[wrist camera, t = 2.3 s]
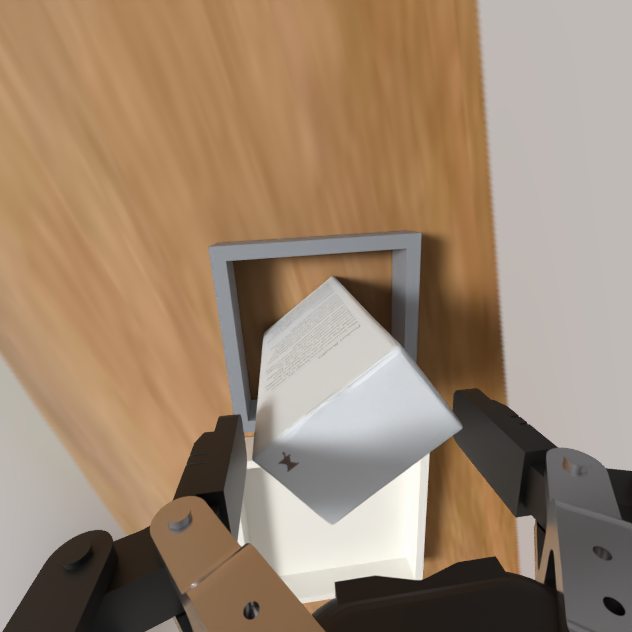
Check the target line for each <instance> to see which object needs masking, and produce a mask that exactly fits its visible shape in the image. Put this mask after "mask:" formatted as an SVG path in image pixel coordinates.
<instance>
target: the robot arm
mask: <svg viewBox="0 0 632 632" xmlns="http://www.w3.org/2000/svg"><path fill="white" fill-rule="evenodd" d="M453 412H454V414H455V415H456V416H457V417H458V419H459V420H460V422H461V423H462V425H463V428H462V429H461V430H460V431H459V432H457V433H456V434H454V435H453V436H454V439H455V441H456V443H457V444H458V445H459V447H460V448H461V449H462V450H463V452H464V453H465V454H466V455H467V457H468V458H469V459H470V460H471V462H472V463H473V464H474V466H475V467H476V468H477V469H478V471H479V472H480V473H481V474H482V476H483V477H484V478H485V479H486V481H487V482H488V483H489V484H490V486H491V487H492V488H493V489H494V491H495V492H496V493H497V494H498V496H499V497H500V498H501V499H502V501H503V502H504V503H505V504H506V506H507V507H508V508H509V509H510V511H511V512H512V513H513V514H514V516H515V517H522V516H528V515H532V516H533V517H534V518H535V519H536V520H535V526H534V539H535V540H534V543H535V544H534V545H535V580H533V579H531V578H528V577H525V576H522V575H519V574H514V573H510V572H505V570H504V569H503V567H502V566H501V564H500V563H499V561H498V559H497V558H496V556H495V557H489V558H482V559H476V560H470V561H463V562H457V563H455V564H453V565H451V566H449V567H447V568H445V569H443V570H441V571H439V572H438V573H436V574H434V575H432V576H430V577H428V578H426V579H423V580H411V579H402V578H393V577H385V576H376V575H375V576H369V577H362V578H356V579H350V580H344V581H337V582H335V599H333V600H331V601H329V602H327V603H326V604H324V605H323V606H321V607H320V608H318V609H317V610H316V611H315V612H314V613H313V614H312V615H311V614H310V613H309V611H308V610H307V609H306V608H305V607H304V605H303V604H302V603H301V602H300V601H299V599H298V598H297V597H296V596H295V595H294V593H293V592H292V591H291V590H290V589H289V588H288V586H287V585H286V584H285V583H284V582H283V580H282V579H281V578H280V577H279V576H278V574H277V573H276V572H275V571H274V570H273V568H272V567H271V566H270V565H269V564H268V562H267V561H266V560H265V559H264V558H263V557H262V555H261V554H260V553H259V552H258V551H257V549H256V548H255V547H254V546H253V545H252V544H250V543H246V544H245V545H243V546H240V545H239V543H238V542H237V541H238V533H239V525H240V517H241V510H242V502H243V494H244V486H245V478H246V471H247V452H246V444H245V437H244V430H243V423H242V417H241V415H240V414H236V415H227V416H220V417H219V418H218V421H217V425H216V428H215V431H214V432H205V433H203V434H202V436H201V437H200V438H199V439H198V440H197V441H196V442H195V443H194V446H193V448H192V451H191V454H190V456H189V459H188V462H187V466H186V467H185V469H184V472H183V475H182V477H181V480H180V483H179V485H178V488H177V491H176V493H175V496H174V499H173V501H172V502H170V503H168V504H167V505H165V506H164V507H163V508H161V509H160V510H159V511H158V513H157V514H156V515H155V516H154V518H153V520H152V522H151V525H150V526H149V527H147V528H145V529H143V530H141V531H139V532H136V533H134V534H131V535H129V536H126V537H124V538H121V539H119V540H116V541H114V542H113V539H112V537H111V535H110V534H109V533H108V532H106V531H103V530H94V531H88V532H85V533H82V534H80V535H78V536H76V537H74V538H72V539H70V540H69V541H67V542H66V543H64V544H63V545H62V546H60V547H59V548H58V549H57V550H56V551H55V552H54V553H53V554H52V555H51V556H50V557H49V558H48V560H47V561H46V563H45V564H44V566H43V567H42V569H41V570H40V572H39V574H38V575H37V577H36V579H35V580H34V582H33V583H32V585H31V586H30V588H29V590H28V591H27V593H26V595H25V596H24V598H23V599H22V601H21V603H20V605H19V606H18V607H17V609H16V611H15V612H14V614H13V615H12V617H11V619H10V620H9V622H8V624H7V625H6V627H5V628H4V630H3V632H145V631H147V630H149V629H151V628H153V627H155V626H157V625H159V624H161V623H163V622H164V621H167V620H168V619H170V618H172V617H173V619H174V621H175V623H176V625H177V627H178V630H179V632H632V471H626V470H617V469H607V468H605V467H604V466H603V465H602V464H601V463H600V462H599V461H598V460H596V459H595V458H593V457H591V456H589V455H587V454H585V453H583V452H580V451H577V450H574V449H569V448H558V447H556V446H555V445H554V444H553V443H552V442H550V441H549V440H548V439H547V438H545V437H544V436H543V435H542V434H541V433H539V432H538V431H537V430H536V429H534V428H533V427H532V426H531V425H528V424H527V422H526V421H524V420H523V419H522V418H521V417H519V416H518V415H517V414H516V413H515V412H514V411H512V410H511V409H510V408H509V407H507V406H505V405H503V404H501V403H499V402H497V401H495V400H491V399H489V398H488V397H487V396H486V395H485V394H484V393H482V392H481V391H480V390H479V389H477V388H474V389H465V390H457V391H455V393H454V398H453Z"/></svg>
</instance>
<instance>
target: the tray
mask: <svg viewBox="0 0 632 632" xmlns="http://www.w3.org/2000/svg"><path fill="white" fill-rule="evenodd" d="M253 443H254V436H253V437H245V444H246V452H247V471H246V478H245V486H244V494H243V502H242V510H241V517H240V525H239V533H238V541H237V542H238V543H239V545H240V546H243V545H245V544H246V543H250V544H252V545H253V546H254V547H255V548H256V549H257V551H258V552H259V553H260V554H261V555H262V557H263V558H264V559H265V560H266V561H267V562H268V564H269V565H270V566H271V567H272V568H273V570H274V571H275V572H276V573H277V574H278V576H279V577H280V578H281V579H282V580H283V582H284V583H285V584H286V585H287V586H288V588H289V589H290V590H291V591H292V592H293V593H294V595H295V596H296V597H297V598H298V599H299V601H300V602H301V603H307V602H314V601H320V600H326V599H333V598H335V582H337V581H344V580H350V579H356V578H362V577H369V576H375V575H376V576H385V577H393V578H402V579H411V580H422V579H423V561H424V543H425V526H426V508H427V491H428V473H429V456H430V453H429V454H427V455H426V456H425V457H423V458H422V459H421V460H419V461H418V462H417V463H415V464H414V465H413V466H411V467H410V468H409V469H407V470H406V471H405V472H403V473H402V474H401V475H399V476H398V477H397V478H395V479H394V480H392V481H391V482H390V483H388V484H387V485H386V486H384V487H383V488H382V489H380V490H379V491H378V492H376V493H375V494H373V495H372V496H371V497H370V498H368V499H367V500H366V501H364V502H363V503H362V504H360V505H359V506H358V507H356V508H355V509H354V510H352V511H351V512H350V513H349V514H347V515H346V516H345V517H343V518H342V519H341V520H340V521H338V522H337V523H336V524H334V525H331V524H329V523H328V522H326V521H325V520H324V519H323V518H321V517H320V516H319V515H318V514H316V513H315V512H314V511H313V510H312V509H310V508H309V507H308V506H307V505H306V504H305V503H303V502H302V501H301V500H300V499H299V498H298V497H296V496H295V495H294V494H293V493H292V492H291V491H289V490H288V489H287V488H286V487H285V486H284V485H282V484H281V483H280V482H279V481H278V480H276V479H275V478H274V477H273V476H271V475H270V474H269V473H268V472H266V471H265V470H264V469H263V468H261V467H260V466H259V465H258V464H256V463H255V462H254V461H253V459H252V455H253Z"/></svg>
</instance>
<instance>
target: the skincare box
mask: <svg viewBox="0 0 632 632" xmlns="http://www.w3.org/2000/svg"><path fill="white" fill-rule="evenodd" d="M462 428H463V425H462V423H461V422H460V420H459V419H458V417H457V416H456V415H455V414H454V412H453V411H452V410H451V408H450V407H449V406H448V404H447V403H446V402H445V400H444V399H443V398H442V396H441V395H440V394H439V393H438V391H437V390H436V389H435V387H434V386H433V385H432V383H431V382H430V381H429V380H428V378H427V377H426V376H425V374H424V373H423V372H422V370H421V369H420V368H419V367H418V365H417V364H416V363H415V362H414V360H413V359H412V358H411V357H410V355H409V354H408V353H407V352H406V350H405V349H404V348H403V347H402V346H401V345H400V344H399V343H398V342H397V341H396V340H395V339H394V338H393V337H392V336H391V335H390V334H389V333H388V332H387V331H386V330H385V329H384V328H383V327H382V326H381V325H380V324H379V323H378V322H377V321H376V320H375V319H374V318H373V317H372V316H371V315H370V314H369V313H368V311H367V310H366V309H365V308H364V307H363V306H362V305H361V304H360V303H359V302H358V301H357V300H356V299H355V298H354V297H353V296H352V295H351V294H350V293H349V292H348V290H347V289H346V288H345V287H344V286H343V285H342V284H341V283H340V282H339V281H338V280H337V279H336V278H335V277H333V276H331V277H330V278H329V279H328V280H327V281H325V282H324V283H323V284H322V285H321V286H319V287H318V288H317V289H316V290H315V291H313V292H312V293H311V294H310V295H308V296H307V297H306V298H305V299H304V300H302V301H301V302H300V303H299V304H298V305H296V306H295V307H294V308H293V309H292V310H290V311H289V312H288V313H287V314H286V315H284V316H283V317H282V318H281V319H280V320H279V321H277V322H276V323H275V324H274V325H273V326H271V327H270V328H269V329H268V330H266V331H265V332H264V337H263V346H262V358H261V369H260V379H259V390H258V402H257V412H256V422H255V434H254V443H253V455H252V459H253V461H254V462H255V463H256V464H258V465H259V466H260V467H261V468H263V469H264V470H265V471H266V472H268V473H269V474H270V475H271V476H273V477H274V478H275V479H276V480H278V481H279V482H280V483H281V484H282V485H284V486H285V487H286V488H287V489H288V490H289V491H291V492H292V493H293V494H294V495H295V496H296V497H298V498H299V499H300V500H301V501H302V502H303V503H305V504H306V505H307V506H308V507H309V508H310V509H312V510H313V511H314V512H315V513H316V514H318V515H319V516H320V517H321V518H323V519H324V520H325V521H326V522H328V523H329V524H331V525H334V524H336V523H337V522H338V521H340V520H341V519H342V518H343V517H345V516H346V515H347V514H349V513H350V512H351V511H352V510H354V509H355V508H356V507H358V506H359V505H360V504H362V503H363V502H364V501H366V500H367V499H368V498H370V497H371V496H372V495H373V494H375V493H376V492H378V491H379V490H380V489H382V488H383V487H384V486H386V485H387V484H388V483H390V482H391V481H392V480H394V479H395V478H397V477H398V476H399V475H401V474H402V473H403V472H405V471H406V470H407V469H409V468H410V467H411V466H413V465H414V464H415V463H417V462H418V461H419V460H421V459H422V458H423V457H425V456H426V455H427V454H429V453H430V452H431V451H433V450H434V449H435V448H437V447H438V446H440V445H441V444H442V443H444V442H445V441H446V440H447V439H449V438H450V437H451V436H453V435H454V434H456V433H457V432H459V431H460V430H461V429H462Z"/></svg>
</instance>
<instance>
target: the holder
mask: <svg viewBox="0 0 632 632" xmlns="http://www.w3.org/2000/svg"><path fill="white" fill-rule="evenodd" d="M208 248H209V255H210V261H211V268H212V274H213V281H214V287H215V294H216V301H217V307H218V314H219V320H220V327H221V334H222V340H223V347H224V353H225V360H226V367H227V373H228V380H229V386H230V393H231V400H232V406H233V413H234V415H236V414H240V415H241V417H242V423H243V430H244V433H246V432H254V431H255V422H256V412H257V402H258V399H255V400H251V395H250V387H249V380H248V372H247V365H246V357H245V349H244V342H243V334H242V326H241V319H240V311H239V304H238V296H237V288H236V281H235V273H234V265H233V261H235V260H249V259H263V258H278V257H292V256H306V255H320V254H335V253H349V252H363V251H377V250H392V249H393V253H392V328H391V336H392V337H393V338H394V339H395V340H396V341H397V342H398V343H399V344H400V345H401V346H402V347H403V348H404V349H405V350H406V352H407V353H408V354H409V355H410V357H411V358H412V359H413V360H414V362H415V363H416V362H417V336H418V310H419V285H420V259H421V233H419V232H412V231H392V232H377V233H361V234H346V235H331V236H315V237H300V238H285V239H270V240H254V241H239V242H224V243H216V244H214V245H211V246H209V247H208Z"/></svg>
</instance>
